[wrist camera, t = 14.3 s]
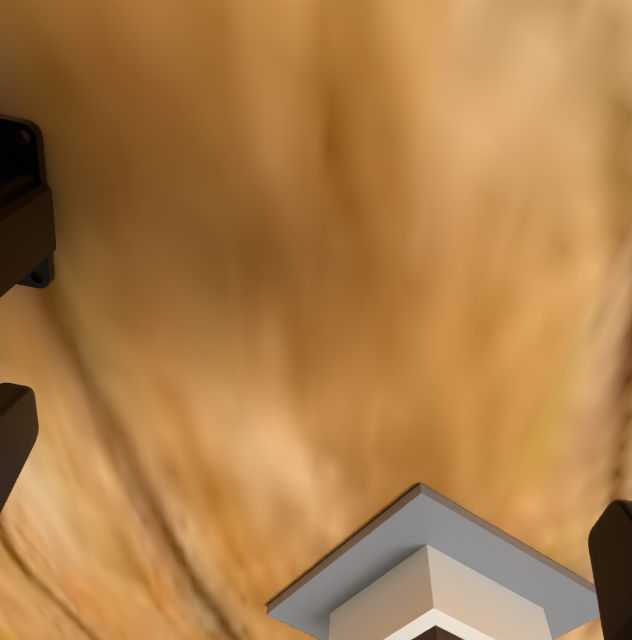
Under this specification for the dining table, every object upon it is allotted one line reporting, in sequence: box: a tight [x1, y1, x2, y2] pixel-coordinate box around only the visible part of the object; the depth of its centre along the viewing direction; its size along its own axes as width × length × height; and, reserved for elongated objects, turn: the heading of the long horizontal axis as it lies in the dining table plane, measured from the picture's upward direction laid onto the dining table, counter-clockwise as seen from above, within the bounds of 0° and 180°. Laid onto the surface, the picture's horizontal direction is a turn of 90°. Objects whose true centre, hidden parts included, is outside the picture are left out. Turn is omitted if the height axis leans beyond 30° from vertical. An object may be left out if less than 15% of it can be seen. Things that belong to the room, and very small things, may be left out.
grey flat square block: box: [266, 483, 600, 640], centre depth 30 cm, size 14×14×4 cm
